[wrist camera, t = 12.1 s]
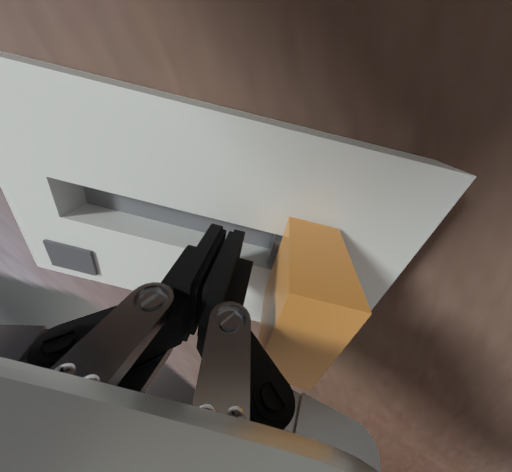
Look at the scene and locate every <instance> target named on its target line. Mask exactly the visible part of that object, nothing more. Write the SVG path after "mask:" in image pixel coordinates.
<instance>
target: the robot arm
mask: <svg viewBox="0 0 512 472" xmlns="http://www.w3.org/2000/svg"><path fill="white" fill-rule="evenodd" d="M244 236H245V232H244V231H240V230H236V229H234V231H233V232H232V231H229V233H228V235H227V237H226V230H224V229H223V226H221V225H217V224H213V223H212V224H211V225H210V227H209V228H208V230H207V231H206V233H205V234H204V236H203V237H202V239H201V240H200V242H199V244H198V245H197V247H196V246H192V245H188V246H187V247H186V248H185V249H184V251H183V252H182V254H181V255H180V256H179V258H178V259H177V261H176V262H175V263H174V265H173V266H172V268H171V269H170V270H169V272H168V273H167V275H166V276H165V277H164V279H163V280H162V282H161V283H159V282H152V283H147V284H144V285H142V286H139V287H138V288H137V289H135V290H134V291H133V292H132V293H131V294H129V295H128V296H127V297H126V298H125V299H124V300H123V301H122V302H121V303H120V304H119V305H117V306H114V307H111V308H108V309H105V310H102V311H99V312H96V313H94V314H90V315H87V316H84V317H81V318H78V319H75V320H72V321H69V322H66V323H63V324H61V325H58V326H55V327H53V328H51V329H46V327H45V326H31V325H0V472H380V460H379V454H378V450H377V446H376V444H375V442H374V440H373V438H372V436H371V435H370V434H369V432H368V431H367V430H366V428H365V427H363V426H362V425H361V424H359V423H358V422H357V421H355V420H353V419H351V418H349V417H348V416H346V415H344V414H342V413H340V412H338V411H336V410H335V409H333V408H331V407H329V406H327V405H325V404H324V403H322V402H320V401H318V400H316V399H314V398H312V397H311V396H309V395H307V394H305V393H302V394H299V393H298V392H296V391H294V390H292V389H291V387H290V385H289V383H288V382H287V380H286V379H285V378H284V376H283V375H282V373H281V372H280V371H279V369H278V368H277V366H276V365H275V364H274V362H273V361H272V359H271V358H270V357H269V355H268V354H267V352H266V351H265V349H264V348H263V347H262V345H261V344H260V342H259V341H258V340H257V338H256V337H255V335H254V334H253V333H252V331H251V319H250V314H249V312H248V310H247V309H246V308H245V307H244V306H243V305H244V301H245V296H246V292H247V288H248V283H249V279H250V275H251V270H252V266H253V261H250V260H246V259H242V258H240V254H241V250H242V245H243V241H244ZM225 237H226V239H225ZM197 327H198V334H197V336H198V341H197V350H198V352H199V354H200V356H201V358H202V359H201V364H200V369H199V374H198V379H197V385H196V390H195V395H194V401H193V405H192V406H191V405H188V404H184V403H179V402H176V401H172V400H168V399H164V398H161V397H156V396H153V395H149V394H145V392H146V391H147V389H148V388H149V386H150V385H151V383H152V381H153V380H154V379H155V377H156V376H157V374H158V372H159V371H160V369H161V368H162V366H163V365H164V363H165V362H166V360H167V359H168V357H169V355H170V354H171V352H172V350H173V348H174V347H176V346H178V345H180V344H181V343H182V341H186V342H187V339H188V337H189V335H190V334H192V335H194V334H195V332H196V329H197Z"/></svg>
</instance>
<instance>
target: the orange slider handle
mask: <svg viewBox="0 0 512 472" xmlns="http://www.w3.org/2000/svg"><path fill="white" fill-rule="evenodd" d="M267 264H271V265H273V267H272V270H271V273H270V276H269V279H268V282H267V285H266V288H265V293H264V301H263V309H262V316H261V324H260V332H259V340H258V341H259V342H260V344H261V345H262V347H263V348H264V349H265V351H266V352H267V354H268V355H269V357H270V358H271V359H272V361H273V362H274V364H275V365H276V366H277V368H278V369H279V371H280V372H281V373H282V375H283V376H284V378H285V379H286V380H287V382H288V383H289V385H293V386H297V387H301V388H305V389H309V390H311V389H312V388H313V387H314V386H315V384H316V383H317V382H318V381H319V379H320V378H321V377H322V376H323V374H324V373H325V372H326V371H327V369H328V368H329V367H330V366H331V364H332V363H333V362H334V361H335V359H336V358H337V357H338V356H339V354H340V353H341V352H342V351H343V349H344V348H345V347H346V346H347V344H348V343H349V342H350V341H351V339H352V338H353V337H354V336H355V334H356V333H357V332H358V331H359V329H360V328H361V327H362V326H363V324H364V323H365V322H366V321H367V319H368V318H369V317H370V316H371V314H372V312H371V310H370V307H369V305H368V302H367V300H366V297H365V294H364V292H363V289H362V287H361V284H360V282H359V279H358V276H357V274H356V271H355V269H354V266H353V264H352V261H351V258H350V256H349V253H348V251H347V248H346V246H345V243H344V240H343V238H342V235H341V233H340V230H339V229H337V228H333V227H329V226H325V225H321V224H318V223H314V222H310V221H306V220H302V219H298V218H294V217H290V216H289V219H288V222H287V225H286V228H285V231H284V234H283V236H281V235H277V234H273V236H272V239H271V242H270V247H269V254H268V262H267Z"/></svg>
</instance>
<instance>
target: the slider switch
mask: <svg viewBox="0 0 512 472" xmlns="http://www.w3.org/2000/svg"><path fill="white" fill-rule="evenodd" d="M476 177H477V176H474V175H472V174H469V173H467V172H464V171H462V170H459V169H457V168H454V167H452V166H449V165H447V164H444V163H442V162H439V161H437V160H434V159H431V158H427V157H423V156H419V155H415V154H411V153H407V152H403V151H399V150H395V149H391V148H387V147H383V146H379V145H375V144H371V143H367V142H363V141H359V140H355V139H351V138H347V137H343V136H339V135H335V134H331V133H327V132H323V131H319V130H315V129H311V128H307V127H303V126H299V125H295V124H291V123H287V122H283V121H279V120H275V119H271V118H267V117H263V116H259V115H256V114H252V113H248V112H244V111H240V110H236V109H232V108H228V107H224V106H220V105H216V104H212V103H208V102H204V101H200V100H196V99H192V98H188V97H184V96H180V95H176V94H172V93H168V92H164V91H160V90H156V89H152V88H148V87H144V86H140V85H136V84H132V83H128V82H124V81H120V80H116V79H112V78H108V77H104V76H100V75H96V74H92V73H88V72H84V71H80V70H76V69H72V68H68V67H64V66H60V65H56V64H52V63H48V62H44V61H40V60H36V59H32V58H29V57H25V56H21V55H17V54H12V53H6V52H0V187H1V189H2V191H3V193H4V195H5V197H6V200H7V202H8V204H9V206H10V208H11V210H12V213H13V215H14V217H15V219H16V221H17V223H18V225H19V228H20V230H21V232H22V234H23V236H24V238H25V241H26V243H27V245H28V247H29V249H30V251H31V254H32V256H33V258H34V260H35V262H36V264H37V266H38V267H42V268H46V269H50V270H54V271H58V272H62V273H66V274H70V275H74V276H78V277H82V278H86V279H90V280H94V281H98V282H102V283H106V284H110V285H114V286H118V287H122V288H126V289H130V290H135V289H137V288H138V287H139V286H142V285H144V284H147V283H152V282H159V283H161V282H162V280H163V279H164V277H165V276H166V275H167V273H168V272H169V270H170V269H171V268H172V266H173V265H174V263H175V262H176V261H177V259H178V258H179V256H180V255H181V254H182V252H183V251H184V249H185V248H186V247H187V246H188V245H192V246H196V247H197V245H198V244H199V242H200V240H201V239H202V237H203V236H204V234H205V233H206V231H207V230H208V228H209V227H210V225H211V224H212V223H213V224H217V225H221V226H223V229H224V230H226V237H227V235H228V233H229V231H232V232H233V231H234V229H236V230H240V231H244V232H245V236H244V241H243V245H242V250H241V254H240V258H242V259H246V260H250V261H253V266H252V270H251V275H250V279H249V283H248V288H247V292H246V296H245V301H244V305H243V306H244V307H245V308H246V309H247V310H248V312H249V314H250V319H251V320H254V321H258V322H261V316H262V309H263V301H264V293H265V288H266V285H267V282H268V279H269V276H270V273H271V270H272V267H273V265H271V264H267V262H268V254H269V247H270V242H271V239H272V236H273V234H277V235H281V236H283V234H284V231H285V228H286V225H287V222H288V219H289V216H290V217H294V218H298V219H302V220H306V221H310V222H314V223H318V224H321V225H325V226H329V227H333V228H337V229H339V230H340V233H341V235H342V238H343V240H344V243H345V246H346V248H347V251H348V253H349V256H350V258H351V261H352V264H353V266H354V269H355V271H356V274H357V276H358V279H359V282H360V284H361V287H362V289H363V292H364V294H365V297H366V300H367V302H368V305H369V307H370V310H372V309H373V308H374V307H375V305H376V304H377V303H378V302H379V300H380V299H381V298H382V296H383V295H384V294H385V293H386V291H387V290H388V289H389V288H390V286H391V285H392V284H393V282H394V281H395V280H396V279H397V277H398V276H399V275H400V274H401V272H402V271H403V270H404V268H405V267H406V266H407V265H408V263H409V262H410V261H411V260H412V258H413V257H414V256H415V254H416V253H417V252H418V251H419V249H420V248H421V247H422V246H423V244H424V243H425V242H426V240H427V239H428V238H429V237H430V235H431V234H432V233H433V232H434V230H435V229H436V228H437V226H438V225H439V224H440V223H441V221H442V220H443V219H444V218H445V216H446V215H447V214H448V212H449V211H450V210H451V209H452V207H453V206H454V205H455V204H456V202H457V201H458V200H459V198H460V197H461V196H462V195H463V193H464V192H465V191H466V190H467V188H468V187H469V186H470V184H471V183H472V182H473V181H474V179H475V178H476ZM226 237H225V239H226Z"/></svg>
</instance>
